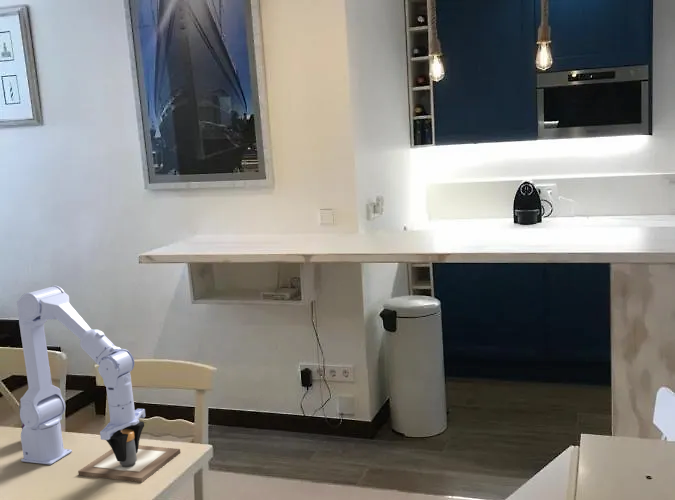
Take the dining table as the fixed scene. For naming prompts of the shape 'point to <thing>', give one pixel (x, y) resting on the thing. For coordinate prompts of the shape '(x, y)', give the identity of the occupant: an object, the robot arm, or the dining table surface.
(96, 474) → the board
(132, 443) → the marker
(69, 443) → the dining table surface
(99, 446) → the dining table surface
